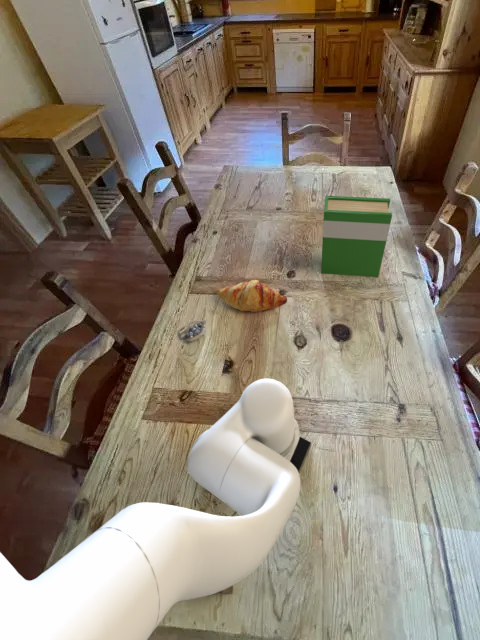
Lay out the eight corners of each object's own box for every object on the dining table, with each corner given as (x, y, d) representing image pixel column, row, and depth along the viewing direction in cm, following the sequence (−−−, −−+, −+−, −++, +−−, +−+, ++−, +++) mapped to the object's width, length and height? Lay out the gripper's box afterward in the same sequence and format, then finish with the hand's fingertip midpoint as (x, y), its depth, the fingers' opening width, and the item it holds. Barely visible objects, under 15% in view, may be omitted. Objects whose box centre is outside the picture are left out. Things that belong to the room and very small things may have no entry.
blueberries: (174, 338, 92) (173, 334, 91) (192, 315, 97) (191, 311, 96) (195, 347, 90) (193, 343, 88) (212, 323, 95) (211, 319, 93)
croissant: (217, 310, 102) (208, 306, 94) (223, 278, 105) (214, 271, 97) (286, 318, 99) (283, 314, 91) (291, 284, 102) (287, 278, 94)
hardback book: (377, 260, 110) (389, 198, 93) (378, 277, 105) (392, 215, 88) (322, 256, 112) (325, 195, 95) (320, 273, 107) (323, 211, 90)
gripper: (265, 504, 47) (273, 525, 60) (314, 396, 58) (312, 433, 70) (220, 476, 50) (238, 502, 62) (275, 377, 60) (280, 417, 73)
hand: (277, 465), depth 66 cm, fingers open, 4 cm apart
